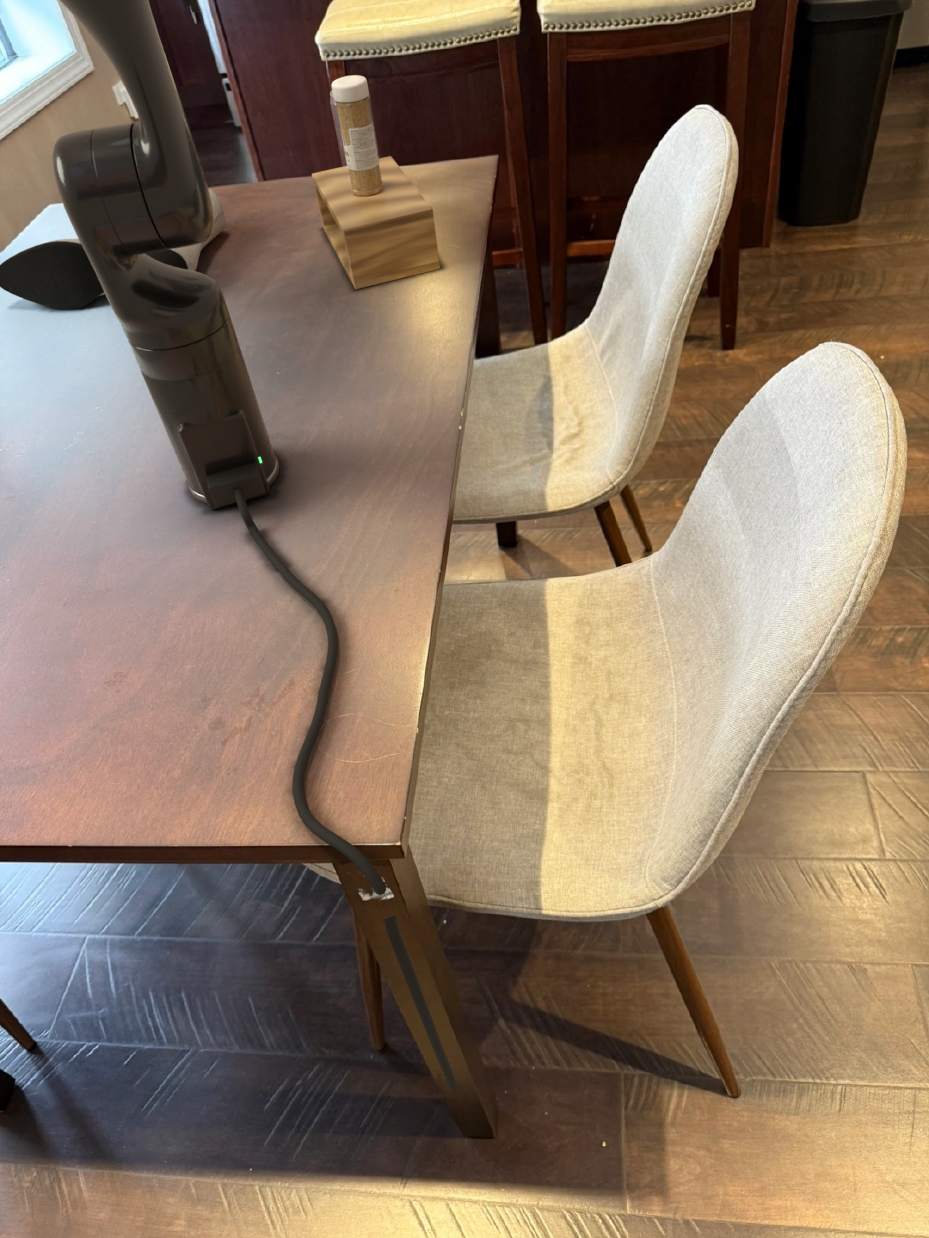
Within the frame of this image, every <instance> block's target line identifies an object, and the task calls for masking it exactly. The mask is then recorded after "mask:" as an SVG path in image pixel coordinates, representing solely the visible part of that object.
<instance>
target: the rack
mask: <svg viewBox="0 0 929 1238" xmlns="http://www.w3.org/2000/svg"><path fill="white" fill-rule="evenodd" d="M379 168H380V173H381V180H382V182H383V186H384V187H383V189H382V190H381V191H379V192H378V193H375V194H371V195H365V196H359V195H355V194H353V192H352V191H351V180H350V176H349V170H348V167H347V166H344V167H343V166H340V167H335V168H331V169H326V170H322V171H318V172H313V173H311V177H312V183H313V187H314V191H315V197H316V200H317V201H316V202H317V206H318V210H319V215H320V218H321V224H322V227H323V228H322V229H323V231H324V232H325V234H326V236H327V238H328V241H329V242H330V244H331V246H332V248H333V249H334V251H335V253H336V256H337V257H338V259H339V261H340V263H341V265H342V266H343V269H344V271H345V272H346V274H347V277H348V278H349V280H350V282H351V284H352V286H353V287H354V289H355V290H359V289H363V288H368V287H371V286H376V285H379V284H383V283H388V282H391V281H392V282H393V281H396V280H399V279H403V278H408V277H411V276H416V275H420V274H424V273H429V272H432V271H435V270H436V271H437V270H441V265H440V257H439V256H440V255H439V250H438V249H439V248H438V241H437V231H436V225H435V217H434V209H433V208H432V206H431V205H430V204H429V202H428V201H427V200H426V198H424V196H423V195H422V194H421V192H420V191H419V190H418V188H417V187H416V186H415V184H413V182H412V181H411V180H410V179H409V177H408V176H407V175H406V173H405V172H404V171H403V170H402V168H401V167H400V166H399V165H398V163H397V162H396V160H395V159H394V158H393V156H391V155H389V156H385V157H380V158H379Z"/></svg>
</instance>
